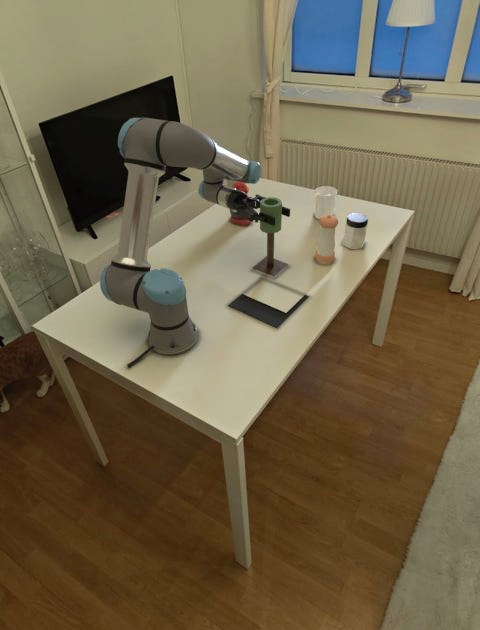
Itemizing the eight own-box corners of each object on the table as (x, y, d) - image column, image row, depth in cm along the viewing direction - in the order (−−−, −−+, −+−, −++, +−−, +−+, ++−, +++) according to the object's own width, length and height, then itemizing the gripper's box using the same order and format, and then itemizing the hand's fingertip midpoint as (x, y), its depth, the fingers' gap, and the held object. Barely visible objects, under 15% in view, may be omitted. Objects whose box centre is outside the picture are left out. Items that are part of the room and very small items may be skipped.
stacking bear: (249, 226, 191) (249, 188, 180) (227, 224, 193) (225, 186, 181) (254, 215, 199) (253, 177, 188) (232, 213, 201) (230, 176, 190)
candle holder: (309, 212, 199) (311, 188, 191) (328, 209, 201) (331, 184, 193) (318, 222, 192) (320, 197, 184) (338, 218, 194) (341, 193, 186)
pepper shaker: (325, 267, 165) (330, 221, 152) (311, 259, 169) (314, 214, 157) (337, 260, 168) (343, 215, 156) (323, 252, 173) (328, 208, 160)
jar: (361, 251, 172) (366, 224, 165) (341, 247, 175) (344, 220, 167) (365, 240, 179) (370, 214, 171) (346, 237, 181) (349, 210, 174)
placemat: (276, 328, 139) (276, 327, 139) (228, 305, 149) (228, 304, 149) (308, 296, 151) (308, 296, 151) (261, 278, 161) (261, 277, 160)
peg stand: (273, 279, 160) (274, 240, 150) (251, 270, 165) (251, 232, 154) (288, 266, 166) (290, 229, 155) (266, 258, 171) (267, 221, 160)
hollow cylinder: (273, 235, 149) (274, 208, 143) (256, 229, 153) (255, 203, 147) (285, 226, 154) (286, 200, 147) (268, 221, 157) (268, 195, 151)
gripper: (251, 199, 167) (299, 216, 155) (214, 218, 156) (262, 238, 144) (251, 180, 162) (300, 196, 150) (212, 199, 151) (262, 218, 139)
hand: (282, 217), depth 147 cm, fingers closed on hollow cylinder, 7 cm apart
